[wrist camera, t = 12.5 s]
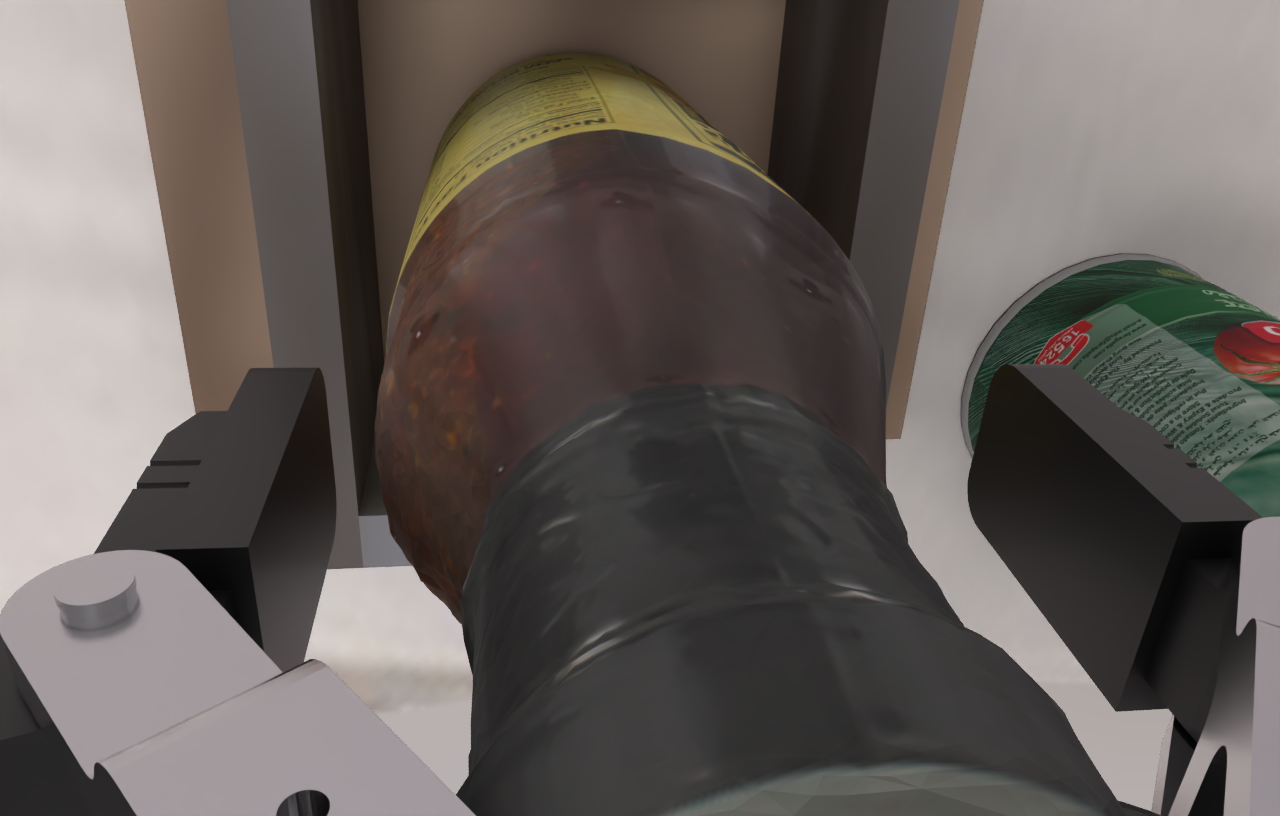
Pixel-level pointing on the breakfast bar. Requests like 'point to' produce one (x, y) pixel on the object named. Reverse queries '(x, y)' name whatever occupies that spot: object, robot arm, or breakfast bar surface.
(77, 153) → the breakfast bar surface
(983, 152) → the breakfast bar surface
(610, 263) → the sauce bottle
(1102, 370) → the canned tomato
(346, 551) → the bottle holder
